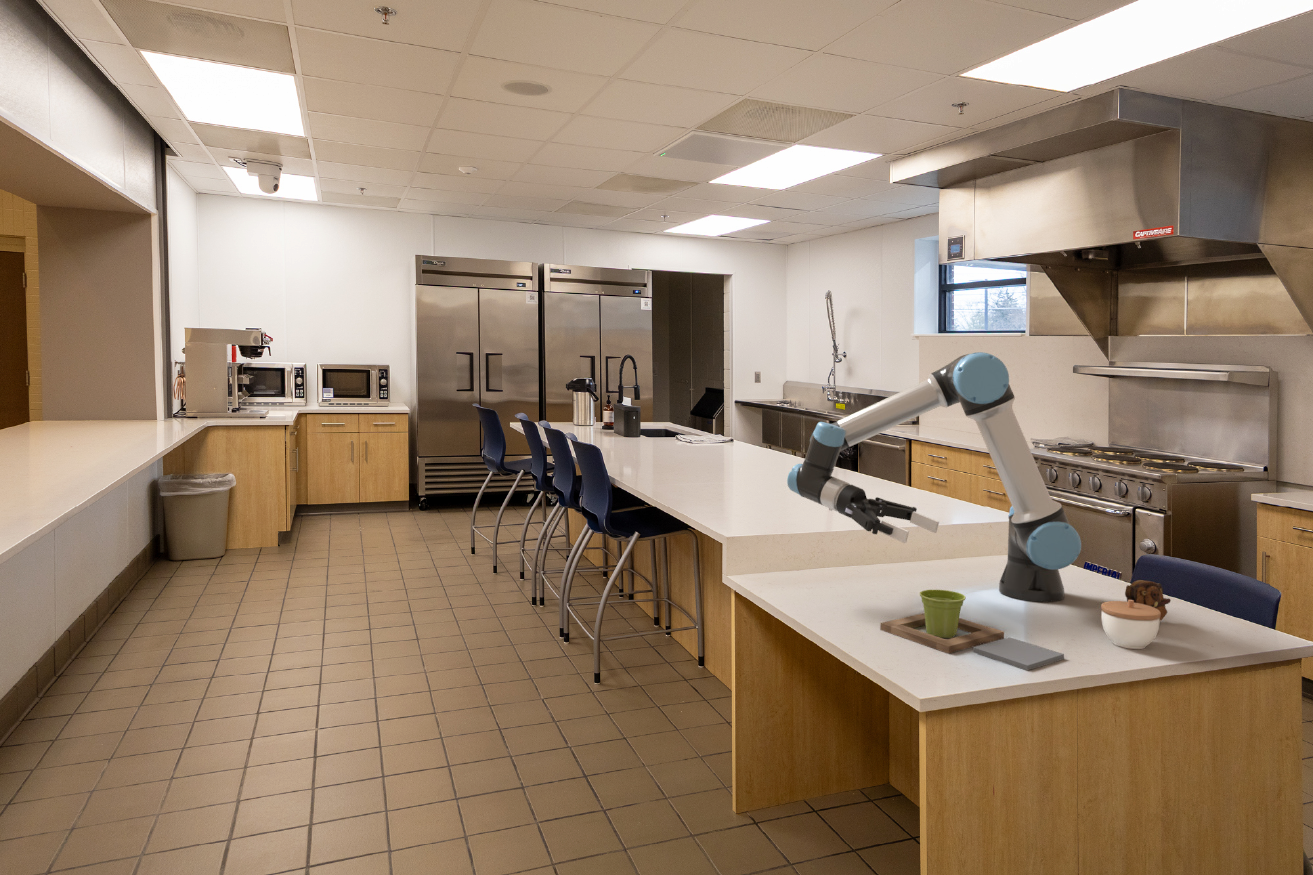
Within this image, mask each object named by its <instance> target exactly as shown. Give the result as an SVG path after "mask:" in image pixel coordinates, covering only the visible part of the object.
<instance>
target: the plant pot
mask: <svg viewBox="0 0 1313 875" xmlns="http://www.w3.org/2000/svg"><path fill="white" fill-rule="evenodd" d="M919 597H921V602H922V605H923V613H925V622H926V625H925V629H926V633H928V634H931V635H934V636H937V637H940V638H943V639H951V638H955V636H956V637H957V634H958V633H957V632H958V629H957V628H958V622H959V618H961V617H960V616H961V611H962V607H963V604H964V601H965V600H967V599H966V595H965V594H963V593H961V592H958V591H955V590H947V589H925V590H922V591H920V592H919Z"/></svg>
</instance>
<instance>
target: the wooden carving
mask: <svg viewBox="0 0 1313 875" xmlns="http://www.w3.org/2000/svg"><path fill="white" fill-rule="evenodd" d="M1124 596H1125V598H1126V602H1128V600H1134V603H1140V604H1144V605H1148V606H1151V607H1154V608H1156V609H1158V610H1159V611H1160V612H1161V616H1160V622H1161V621H1162V620H1163V619H1164V618H1165V617H1166V616H1167V614H1168V610H1167V608H1166V605H1169V604H1170V603H1171V599H1170V598H1166V597H1164V589H1163V586H1162V584H1161V583H1160V582H1154V581H1150V580H1142V579H1138V580H1135V581H1133V582H1132V583H1131V584H1130V585H1126V588H1125V590H1124Z"/></svg>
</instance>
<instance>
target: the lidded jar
mask: <svg viewBox="0 0 1313 875" xmlns="http://www.w3.org/2000/svg"><path fill="white" fill-rule="evenodd" d="M1100 610H1101V614H1100V615H1101V617H1100V618H1101V624H1102V629H1103V631H1104V633H1105V634H1106V637H1108V639H1109V640H1111V643H1112V644H1113V645H1115V646H1118V647H1120V648H1124V649H1130V650H1144V649H1145V648H1146V646H1148V645H1150V644H1151V643H1152V642H1153V641H1154V640H1155V639H1156V637H1157V635H1158V632H1159V628H1160V622H1161V621H1160V616H1161V612H1160V611H1159V610H1158V609H1156V608H1154V607H1151V606H1148V605H1144V604H1140V603H1134V600H1128V602H1127V600H1126V601H1124V600H1111V601H1105V602H1102V603H1101V605H1100Z"/></svg>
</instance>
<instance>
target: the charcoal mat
mask: <svg viewBox="0 0 1313 875" xmlns="http://www.w3.org/2000/svg"><path fill="white" fill-rule="evenodd" d="M972 653H974V654H978V655H981V656H984V657H985V658H989V659H992V660H995V661H997V662H1001V663H1005V664H1007V665H1010V666H1012V667H1016V668H1019V669H1022V670H1025V671H1031V670H1033V669H1036V668H1039V667H1040V668H1041V667H1042V666H1045V665H1046V666H1047V665H1049V664H1052V663H1056V662H1058V661H1059V662H1060V661H1061V660H1064V659H1065V654H1064V653H1062V652H1058V651H1056V650H1053V649H1050V648H1046V647H1042V646H1039V645H1036V644H1032V643H1029V642H1026V641H1023V640H1020V639H1016V638H1013V637H1011V636H1010V637H1006V638H1005V637H1004V639H1000V640H996V641H993V642H989V643H985V644H982V645H978V646H975V647H972Z"/></svg>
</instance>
